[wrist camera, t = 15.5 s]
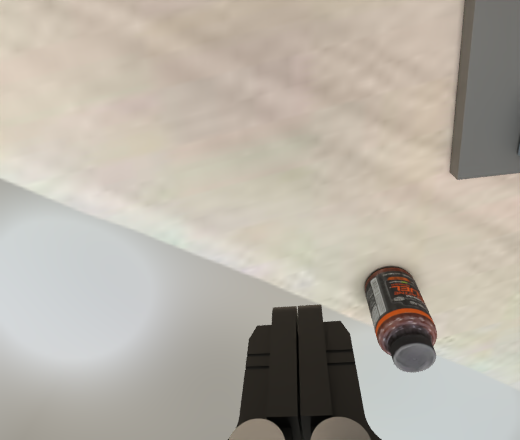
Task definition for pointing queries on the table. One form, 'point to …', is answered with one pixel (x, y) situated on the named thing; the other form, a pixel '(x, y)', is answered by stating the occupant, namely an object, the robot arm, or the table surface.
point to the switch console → (488, 91)
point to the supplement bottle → (401, 319)
